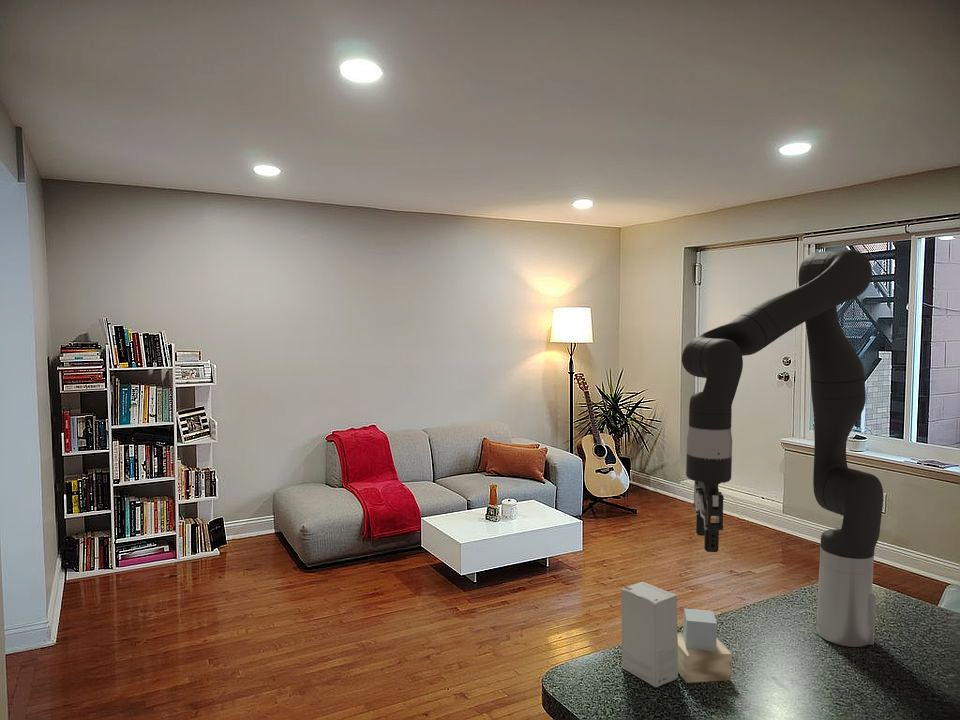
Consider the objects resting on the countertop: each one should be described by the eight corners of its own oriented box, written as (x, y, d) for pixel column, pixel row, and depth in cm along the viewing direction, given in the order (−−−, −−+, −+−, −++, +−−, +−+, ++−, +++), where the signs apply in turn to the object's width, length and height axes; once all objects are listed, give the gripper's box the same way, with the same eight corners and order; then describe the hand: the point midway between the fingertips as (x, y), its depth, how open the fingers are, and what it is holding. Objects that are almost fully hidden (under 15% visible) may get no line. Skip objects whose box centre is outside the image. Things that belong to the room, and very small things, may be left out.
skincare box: (678, 679, 116) (681, 595, 115) (654, 690, 113) (657, 603, 112) (641, 658, 123) (644, 579, 122) (618, 667, 120) (620, 586, 119)
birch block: (709, 658, 124) (710, 631, 124) (730, 681, 116) (731, 653, 116) (668, 660, 123) (668, 633, 123) (686, 684, 115) (687, 655, 115)
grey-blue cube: (711, 637, 121) (712, 610, 121) (716, 651, 116) (717, 623, 116) (683, 635, 122) (684, 608, 122) (685, 648, 117) (686, 620, 117)
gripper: (740, 462, 110) (738, 558, 112) (723, 444, 124) (720, 530, 126) (693, 460, 111) (691, 556, 113) (681, 443, 126) (679, 528, 127)
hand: (706, 542), depth 119 cm, fingers open, 8 cm apart
